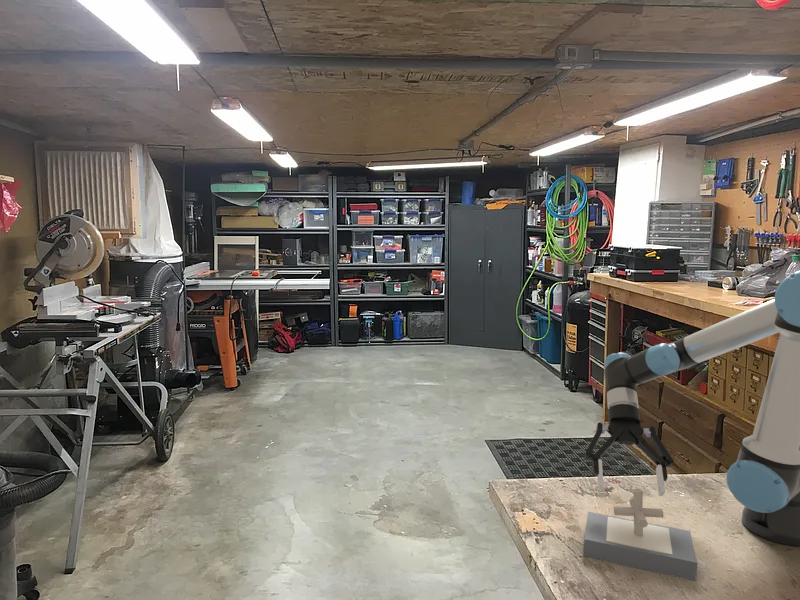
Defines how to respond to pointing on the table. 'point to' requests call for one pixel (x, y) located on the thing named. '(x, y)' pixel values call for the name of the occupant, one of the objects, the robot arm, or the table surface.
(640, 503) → the pipe connector
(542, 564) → the table surface
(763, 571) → the table surface
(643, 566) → the grey flat block
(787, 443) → the robot arm
